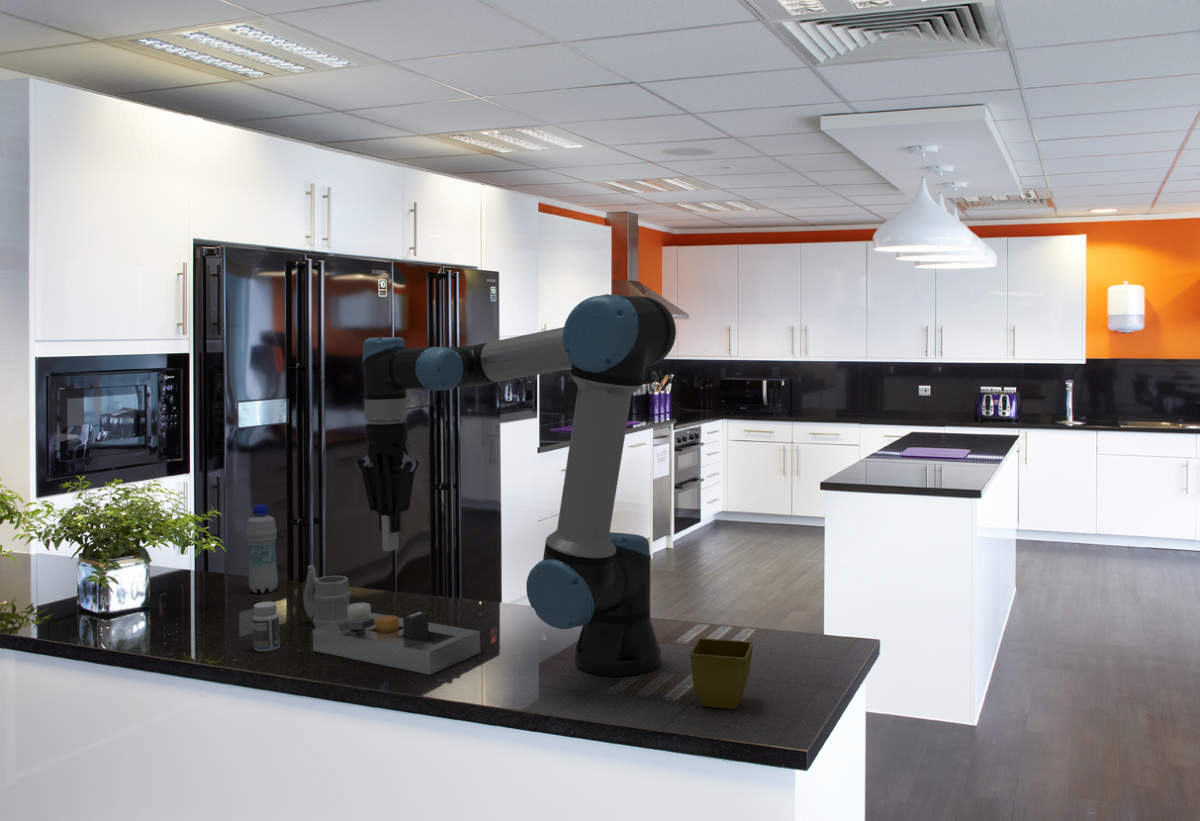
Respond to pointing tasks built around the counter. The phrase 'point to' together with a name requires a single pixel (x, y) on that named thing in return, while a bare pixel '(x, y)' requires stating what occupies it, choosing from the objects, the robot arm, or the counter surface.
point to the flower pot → (720, 671)
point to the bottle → (262, 550)
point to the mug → (326, 598)
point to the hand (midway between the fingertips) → (390, 549)
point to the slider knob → (416, 626)
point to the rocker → (356, 624)
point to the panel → (399, 646)
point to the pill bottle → (266, 627)
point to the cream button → (359, 611)
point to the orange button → (387, 624)
